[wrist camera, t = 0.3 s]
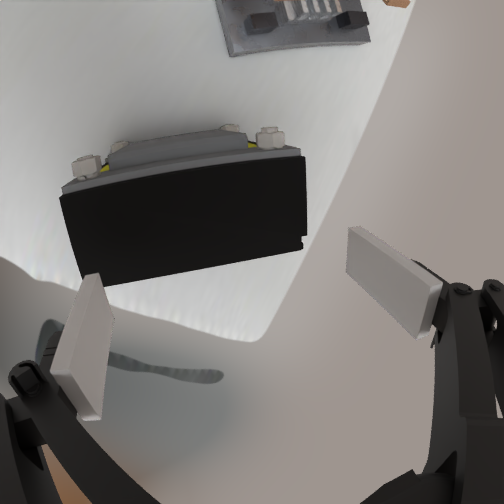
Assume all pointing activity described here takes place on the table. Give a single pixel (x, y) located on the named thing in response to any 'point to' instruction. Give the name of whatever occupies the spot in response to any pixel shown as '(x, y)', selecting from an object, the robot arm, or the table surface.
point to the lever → (397, 3)
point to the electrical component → (185, 204)
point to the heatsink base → (291, 24)
